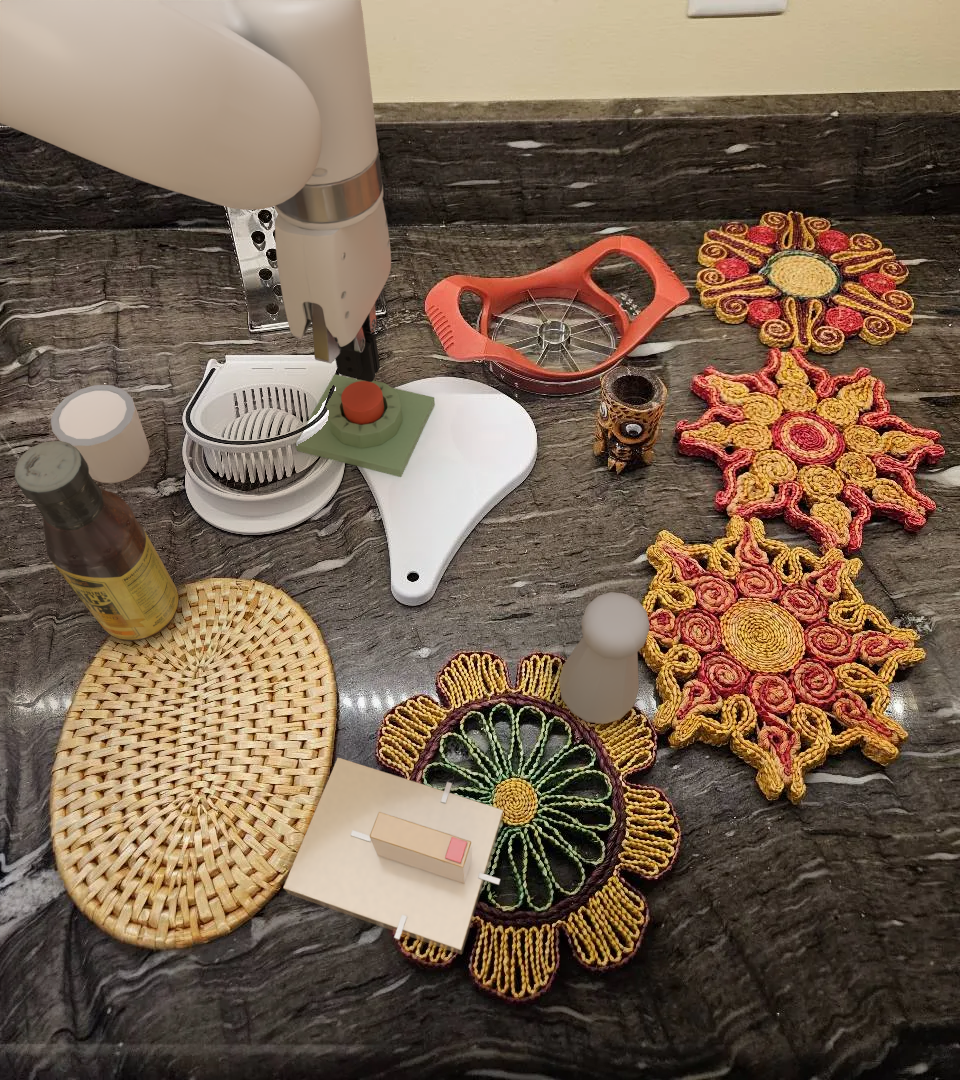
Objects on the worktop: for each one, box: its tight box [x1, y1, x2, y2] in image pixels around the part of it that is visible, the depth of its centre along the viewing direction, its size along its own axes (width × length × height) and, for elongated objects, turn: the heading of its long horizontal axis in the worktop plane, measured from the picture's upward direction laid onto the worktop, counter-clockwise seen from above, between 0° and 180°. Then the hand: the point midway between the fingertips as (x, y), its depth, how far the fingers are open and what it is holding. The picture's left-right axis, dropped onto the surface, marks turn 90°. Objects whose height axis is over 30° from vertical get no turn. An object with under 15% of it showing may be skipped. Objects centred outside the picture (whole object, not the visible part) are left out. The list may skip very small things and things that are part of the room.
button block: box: [295, 373, 436, 478], centre depth 78 cm, size 10×9×4 cm
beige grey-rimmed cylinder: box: [50, 384, 151, 484], centre depth 75 cm, size 7×7×7 cm
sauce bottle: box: [14, 440, 179, 642], centre depth 61 cm, size 7×6×20 cm
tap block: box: [283, 757, 504, 955], centre depth 57 cm, size 13×10×3 cm
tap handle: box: [370, 812, 472, 884], centre depth 54 cm, size 6×2×5 cm, turn 73°
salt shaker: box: [558, 591, 651, 725], centre depth 60 cm, size 6×6×13 cm
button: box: [341, 381, 384, 425], centre depth 76 cm, size 4×4×2 cm
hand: (359, 371), depth 73 cm, fingers closed
